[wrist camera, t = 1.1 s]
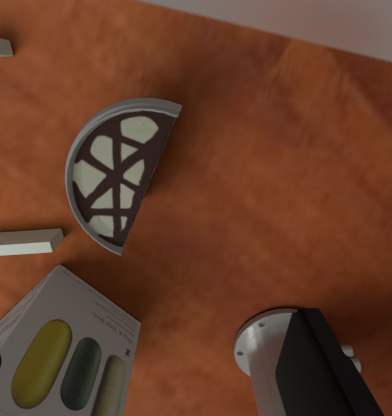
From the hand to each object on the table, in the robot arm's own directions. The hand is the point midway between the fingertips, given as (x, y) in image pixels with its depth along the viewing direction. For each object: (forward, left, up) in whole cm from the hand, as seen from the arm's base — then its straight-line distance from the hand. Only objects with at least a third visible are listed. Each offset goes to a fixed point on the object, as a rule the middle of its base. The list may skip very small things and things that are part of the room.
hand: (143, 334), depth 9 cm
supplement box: (+15, +20, -23) cm, 34 cm away
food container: (+4, -2, -23) cm, 23 cm away
